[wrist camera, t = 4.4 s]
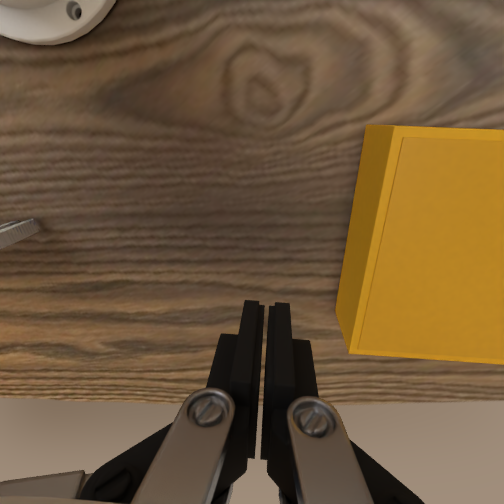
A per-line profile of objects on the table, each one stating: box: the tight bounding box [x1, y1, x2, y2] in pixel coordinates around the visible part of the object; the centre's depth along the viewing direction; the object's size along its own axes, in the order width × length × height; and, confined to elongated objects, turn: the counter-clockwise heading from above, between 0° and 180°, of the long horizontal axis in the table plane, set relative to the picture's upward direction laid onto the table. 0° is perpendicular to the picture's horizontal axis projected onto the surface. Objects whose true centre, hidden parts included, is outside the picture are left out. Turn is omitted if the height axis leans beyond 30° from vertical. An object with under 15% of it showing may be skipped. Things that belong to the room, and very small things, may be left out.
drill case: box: [335, 124, 504, 364], centre depth 19 cm, size 12×14×6 cm
